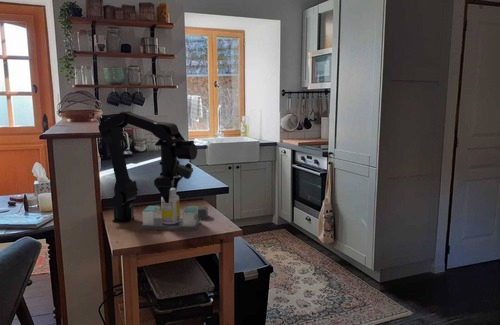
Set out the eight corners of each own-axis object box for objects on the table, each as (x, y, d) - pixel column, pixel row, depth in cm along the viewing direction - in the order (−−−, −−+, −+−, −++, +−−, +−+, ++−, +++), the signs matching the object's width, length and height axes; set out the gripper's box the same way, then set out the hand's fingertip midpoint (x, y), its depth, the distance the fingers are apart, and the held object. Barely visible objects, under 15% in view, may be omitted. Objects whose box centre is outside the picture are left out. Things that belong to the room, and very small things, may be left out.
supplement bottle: (175, 218, 148) (174, 185, 146) (182, 222, 143) (182, 189, 141) (159, 221, 145) (158, 188, 142) (165, 226, 139) (164, 192, 137)
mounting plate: (141, 229, 140) (140, 211, 139) (149, 221, 149) (148, 204, 148) (195, 230, 139) (194, 212, 138) (200, 222, 148) (199, 205, 147)
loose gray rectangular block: (193, 219, 153) (193, 209, 152) (195, 215, 157) (195, 206, 156) (206, 219, 152) (205, 209, 152) (207, 216, 156) (207, 206, 156)
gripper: (184, 162, 130) (186, 207, 133) (196, 154, 148) (197, 193, 151) (152, 162, 131) (154, 206, 133) (167, 154, 149) (169, 193, 152)
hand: (170, 199), depth 142 cm, fingers open, 9 cm apart
